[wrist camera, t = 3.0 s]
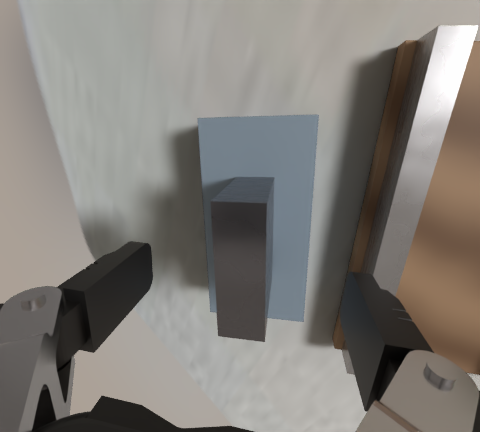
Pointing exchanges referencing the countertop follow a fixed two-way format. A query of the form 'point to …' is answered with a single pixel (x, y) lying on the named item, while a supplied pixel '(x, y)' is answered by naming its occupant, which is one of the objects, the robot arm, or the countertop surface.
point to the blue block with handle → (257, 218)
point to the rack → (428, 195)
